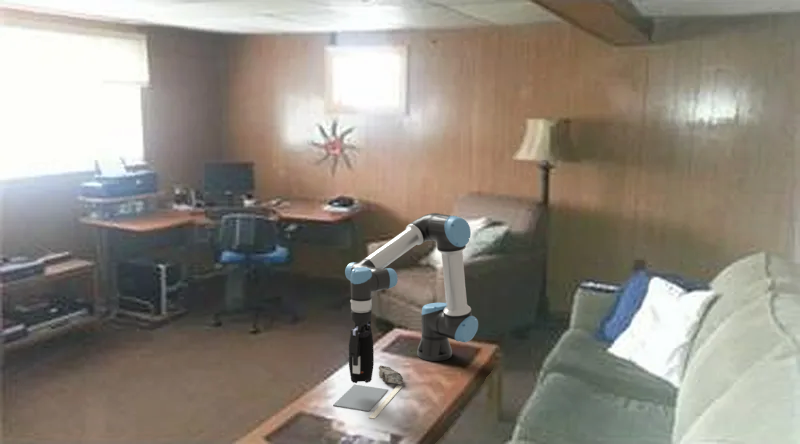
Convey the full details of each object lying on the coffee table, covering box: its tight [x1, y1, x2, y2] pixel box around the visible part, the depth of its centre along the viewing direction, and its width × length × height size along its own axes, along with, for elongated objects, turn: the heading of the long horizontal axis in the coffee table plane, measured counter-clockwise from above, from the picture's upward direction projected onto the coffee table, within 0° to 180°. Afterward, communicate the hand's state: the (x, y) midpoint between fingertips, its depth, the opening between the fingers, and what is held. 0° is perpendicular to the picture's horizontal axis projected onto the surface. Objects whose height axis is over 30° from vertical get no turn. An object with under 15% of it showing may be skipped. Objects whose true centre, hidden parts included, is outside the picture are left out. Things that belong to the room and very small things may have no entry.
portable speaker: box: [348, 327, 375, 384], centre depth 260 cm, size 9×9×20 cm
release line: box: [368, 385, 403, 420], centre depth 259 cm, size 30×2×1 cm, turn 161°
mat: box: [332, 383, 389, 412], centre depth 262 cm, size 20×14×1 cm
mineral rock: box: [378, 365, 404, 385], centre depth 278 cm, size 15×8×4 cm, turn 15°
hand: (361, 368), depth 261 cm, fingers closed on portable speaker, 8 cm apart
